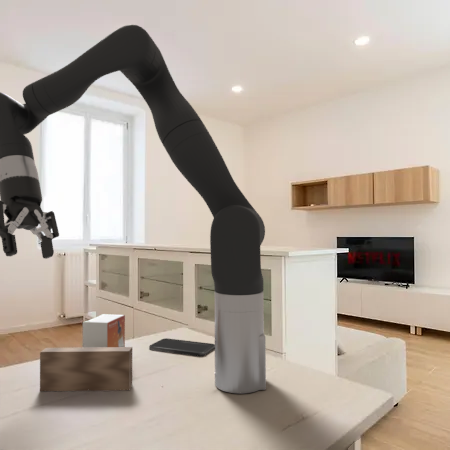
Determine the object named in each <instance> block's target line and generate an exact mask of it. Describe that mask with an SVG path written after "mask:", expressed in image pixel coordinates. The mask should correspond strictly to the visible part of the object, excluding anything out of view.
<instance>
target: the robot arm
mask: <svg viewBox="0 0 450 450" xmlns="http://www.w3.org/2000/svg"><path fill="white" fill-rule="evenodd" d="M118 71H119V72H121V74H123V76H124V77H125V78H126V79H127V80H128V81H130V83H131V84H132V85H133V86H134V87H135V89H136V90H137V91H138V92H139V94H140V96H142V99H143V100H144V101H145V103H146V104H147V106H148V108H149V111H150V112H151V116H152V119H153V122H154V123H153V124H154V127H155V131H156V133H157V135H158V138H159V140H160V142H161V143H162V146H163V147H164V149H165V151H166V153H167V154H168V157H169V159H170V160H171V161H172V163H173V164H174V166H175V167H176V168H177V169H178V171H179V172H180V174H181V175H182V176H183V177H184V178H185V180H187V182H188V183H189V184H190V186H192V187H193V188H194V190H195V191H196V192H197V193H198V194H199V196H200V197H201V198H202V199H203V200H204V203H205V204H206V205H207V207H208V209H209V212H210V213H211V215H212V217H213V219H212V221H211V224H210V225H211V226H210V234H209V240H210V241H209V246H210V269H211V277H212V279H213V284H214V287H213V288H214V291H213V292H214V344H215V349H214V386H215V387H216V388H217V389H219V390H221V391H223V392H227V393H230V394H231V393H232V394H249V393H255V392H257V391H261V390H263V391H264V390H265V391H266V389H267V379H266V377H267V369H266V368H267V365H266V361H267V359H266V356H267V355H266V351H267V350H266V347H267V346H266V335H265V331H264V330H265V318H264V317H265V315H264V312H265V311H264V307H265V306H264V304H265V303H264V299H265V298H264V296H265V295H264V276H263V274H262V265H261V264H262V263H261V259H262V258H261V245H262V244H263V242H264V239H265V236H266V227H265V223H264V220H263V218H262V217H261V216H260V214H259V213H258V212H257V211H256V209H255V208H254V207H253V205H252V204H251V203H250V201H248V199H247V197H246V196H245V194H244V193H243V192H242V191H241V189H240V188H239V187H238V184H237V183H236V182H235V180H234V179H233V176H232V174H231V172H230V170H229V168H228V166H227V163H226V162H225V160H224V158H223V156H222V154H221V151H220V150H219V149H218V146H217V145H216V143H215V141H214V139H213V137H212V135H211V134H210V132H209V131H208V128H207V127H206V126H205V124H204V122H203V120H202V119H201V118H200V116H199V114H198V113H197V111H196V109H194V107H193V106H192V105H191V103H190V102H189V101H188V100H187V99H186V98H185V97H184V95H183V94H182V93H181V92H180V89H179V88H178V86H177V84H176V83H175V81H174V78H173V77H172V74H171V72H170V70H169V67H168V66H167V64H166V61H165V59H164V56H163V54H162V52H161V50H160V49H159V47H158V45H157V44H156V42H155V41H154V39H153V38H152V37H151V36H150V34H149V33H148V32H147V30H145V28H143V27H142V26H140V25H137V24H126V25H123V26H121V27H119V28H117V29H115V30H114V31H112V32H110V33H109V34H108V35H107V36H105V37H103V39H101V40H100V41H98V42H97V43H96V44H95V45H93V46H92V47H90V48H89V49H87V50H86V51H85V52H83V53H82V54H80V55H79V56H78V57H76V58H75V59H73V60H72V61H70V62H69V63H68V64H67V65H64V66H62V68H60V69H57V70H56V71H54V72H52V73H51V74H48V75H46V76H44V77H41V78H40V79H37V80H36V81H33V82H31V83H29V84H28V85H26V86H25V87H24V88H23V90H22V97H23V98H22V99H23V101H24V103H21V102H20V101H18V100H16V99H15V98H13V97H12V96H10V95H8V94H6V93H4V92H2V91H0V238H1V244H2V251H3V252H4V254H5V256H6V257H13V256H15V255H17V254H18V246H17V240H16V234H14V233H15V232H16V230H17V229H19V230H20V229H21V230H22V229H24V230H25V231H30V232H31V234H32V235H35V236H36V237H38V238H37V239H39V241H40V248H41V254H42V255H41V256H42V258H43V259H45V260H46V259H50V258H51V257H53V255H54V253H55V252H54V246H53V244H54V243H53V240H54V239H56V238H59V236H60V233H59V228H58V224H57V219H56V216H55V212H54V211H53V210H52V211H48V212H45V211H43V209H42V206H41V204H42V202H43V196H42V190H41V184H40V180H39V172H38V169H37V166H36V163H35V156H34V151H33V146H32V143H31V140H30V139H29V138H28V137H27V136H26V135H28V134H29V133H31V132H32V131H34V130H35V129H36V128H37V127H38V126H39V125H40V124H41V123H43V121H45V119H47V118H48V117H49V116H50V115H53V114H56V113H57V112H59V111H63V110H65V109H67V108H69V107H70V106H72V105H74V104H75V103H76V102H78V101H79V100H80V99H81V98H82V97H83V96H84V94H85V93H86V92H87V90H88V89H89V88H90V87H91V86H92V84H94V83H95V82H96V81H97V80H99V79H100V78H102V77H104V76H106V75H110V74H112V73H115V72H118ZM5 216H6V218H7V219H5ZM38 226H40V227H38Z"/></svg>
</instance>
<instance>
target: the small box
mask: <svg viewBox="0 0 450 450" xmlns="http://www.w3.org/2000/svg"><path fill="white" fill-rule="evenodd" d="M125 325H126V315H125V314H112V313H111V314H110V313H108V314H107V313H102V314H100V315H98V316H95V317H93V318H91V319H89V320H85V321H83V322H82V347H126V345H125V344H126V343H125V342H126V340H125V339H126V337H125V336H126V326H125Z"/></svg>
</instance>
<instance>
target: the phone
mask: <svg viewBox="0 0 450 450" xmlns="http://www.w3.org/2000/svg"><path fill="white" fill-rule="evenodd" d="M148 347H149V348H148V349H149V350H150V351H154V352H155V351H156V352H163V353H170V354H177V355H184V356H192V357H205V356H207V355H209V353H211V352H212V351H215V343H211V342H210V343H209V342H201V341H200V342H199V341H193V340H185V339H175V338H168V337H167V338H162V339H160V340H158V341H156V342H153V343H151V344H149V346H148Z"/></svg>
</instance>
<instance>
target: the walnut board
mask: <svg viewBox="0 0 450 450" xmlns="http://www.w3.org/2000/svg"><path fill="white" fill-rule="evenodd" d="M132 386H133V346H125V347H83V346H82V347H45V348H44V349H42V350H41V351H40V352H39V392H77V391H78V392H79V391H80V392H82V391H83V392H85V391H86V392H93V391H94V392H95V391H96V392H98V391H99V392H100V391H101V392H102V391H107V392H108V391H111V392H112V391H130V390H131V388H132Z"/></svg>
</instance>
